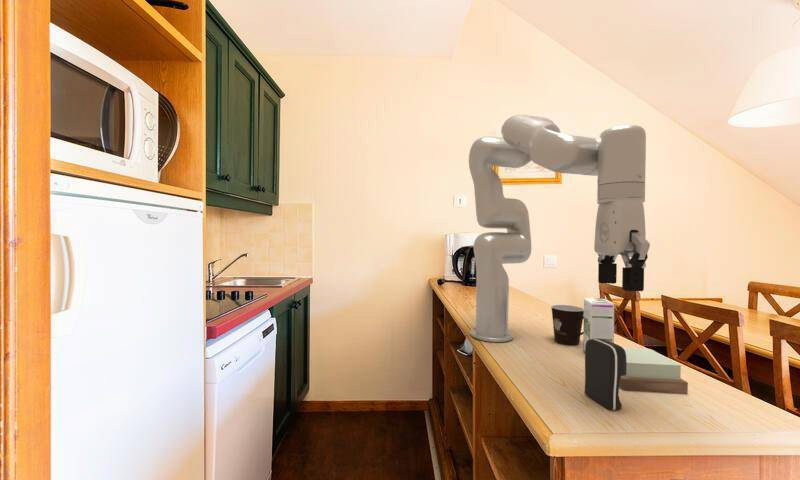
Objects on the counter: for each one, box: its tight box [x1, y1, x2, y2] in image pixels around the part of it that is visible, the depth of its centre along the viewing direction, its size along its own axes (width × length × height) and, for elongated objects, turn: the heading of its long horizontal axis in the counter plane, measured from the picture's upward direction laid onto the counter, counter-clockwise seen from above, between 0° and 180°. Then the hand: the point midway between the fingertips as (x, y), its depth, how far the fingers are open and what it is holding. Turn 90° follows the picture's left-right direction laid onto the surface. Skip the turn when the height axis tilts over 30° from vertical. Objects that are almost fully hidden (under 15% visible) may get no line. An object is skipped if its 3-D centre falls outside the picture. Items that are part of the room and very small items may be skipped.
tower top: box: [622, 347, 682, 380], centre depth 75 cm, size 10×10×3 cm
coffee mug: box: [550, 304, 584, 347], centre depth 99 cm, size 12×9×10 cm
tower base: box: [619, 376, 689, 395], centre depth 75 cm, size 12×12×3 cm
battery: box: [584, 339, 627, 411], centre depth 65 cm, size 7×4×11 cm, turn 11°
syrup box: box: [582, 297, 615, 353], centre depth 90 cm, size 6×6×14 cm
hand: (619, 286), depth 65 cm, fingers open, 9 cm apart
